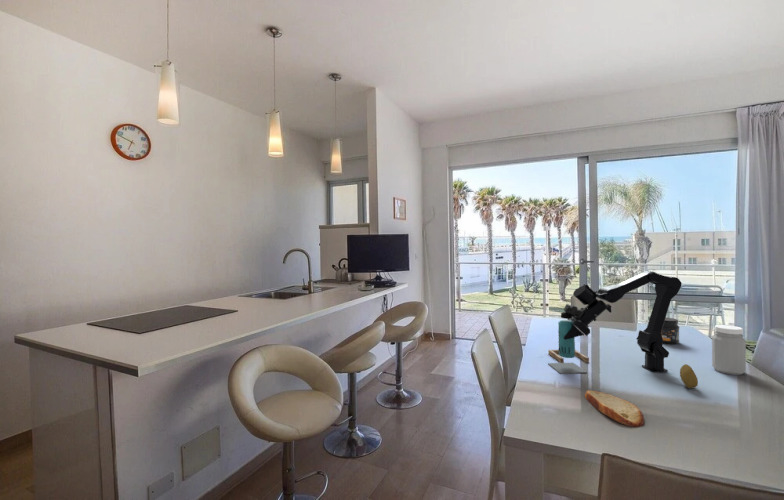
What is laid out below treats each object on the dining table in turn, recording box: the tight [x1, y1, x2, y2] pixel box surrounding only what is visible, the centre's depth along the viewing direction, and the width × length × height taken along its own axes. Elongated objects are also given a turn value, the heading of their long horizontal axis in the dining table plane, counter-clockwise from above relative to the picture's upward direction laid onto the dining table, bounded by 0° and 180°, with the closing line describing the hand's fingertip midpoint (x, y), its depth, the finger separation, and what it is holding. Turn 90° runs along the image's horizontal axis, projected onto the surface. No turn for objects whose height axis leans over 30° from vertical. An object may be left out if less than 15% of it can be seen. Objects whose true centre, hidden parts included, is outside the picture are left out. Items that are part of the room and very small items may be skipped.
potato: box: [679, 364, 699, 389], centre depth 127 cm, size 7×8×8 cm
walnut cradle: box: [547, 349, 590, 363], centre depth 162 cm, size 12×12×2 cm
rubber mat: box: [547, 362, 588, 375], centre depth 149 cm, size 11×11×1 cm
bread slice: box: [584, 389, 645, 428], centre depth 113 cm, size 18×18×4 cm
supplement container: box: [661, 316, 680, 345], centre depth 182 cm, size 10×10×12 cm
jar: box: [711, 324, 747, 376], centre depth 141 cm, size 10×10×18 cm
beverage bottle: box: [557, 312, 576, 359], centre depth 149 cm, size 6×7×20 cm
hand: (563, 336), depth 149 cm, fingers closed on beverage bottle, 6 cm apart
